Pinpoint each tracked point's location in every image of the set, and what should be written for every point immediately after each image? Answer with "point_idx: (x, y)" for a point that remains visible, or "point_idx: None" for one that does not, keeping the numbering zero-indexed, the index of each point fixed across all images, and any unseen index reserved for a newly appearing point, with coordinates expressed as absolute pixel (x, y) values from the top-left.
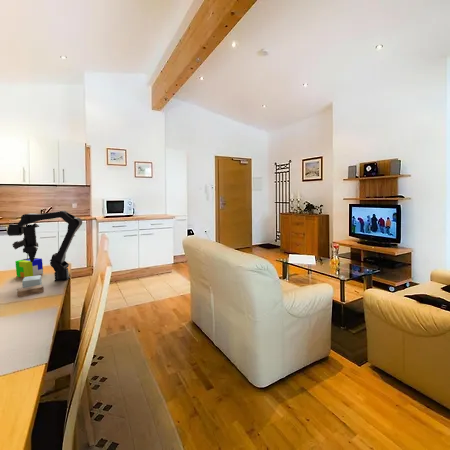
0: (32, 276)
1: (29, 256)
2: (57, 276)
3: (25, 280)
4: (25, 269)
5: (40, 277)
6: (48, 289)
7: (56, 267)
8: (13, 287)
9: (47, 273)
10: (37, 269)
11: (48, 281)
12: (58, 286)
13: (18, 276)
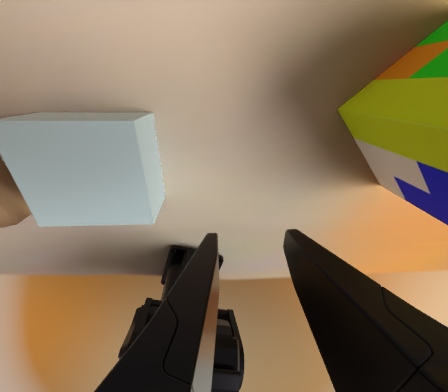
0: (132, 178)
1: (158, 319)
2: (174, 271)
3: (13, 143)
4: (408, 98)
5: (98, 223)
6: (30, 232)
7: (128, 331)
8: (124, 33)
9: (362, 204)
10: (396, 175)
11: (182, 221)
12: (73, 262)
13: (442, 26)
